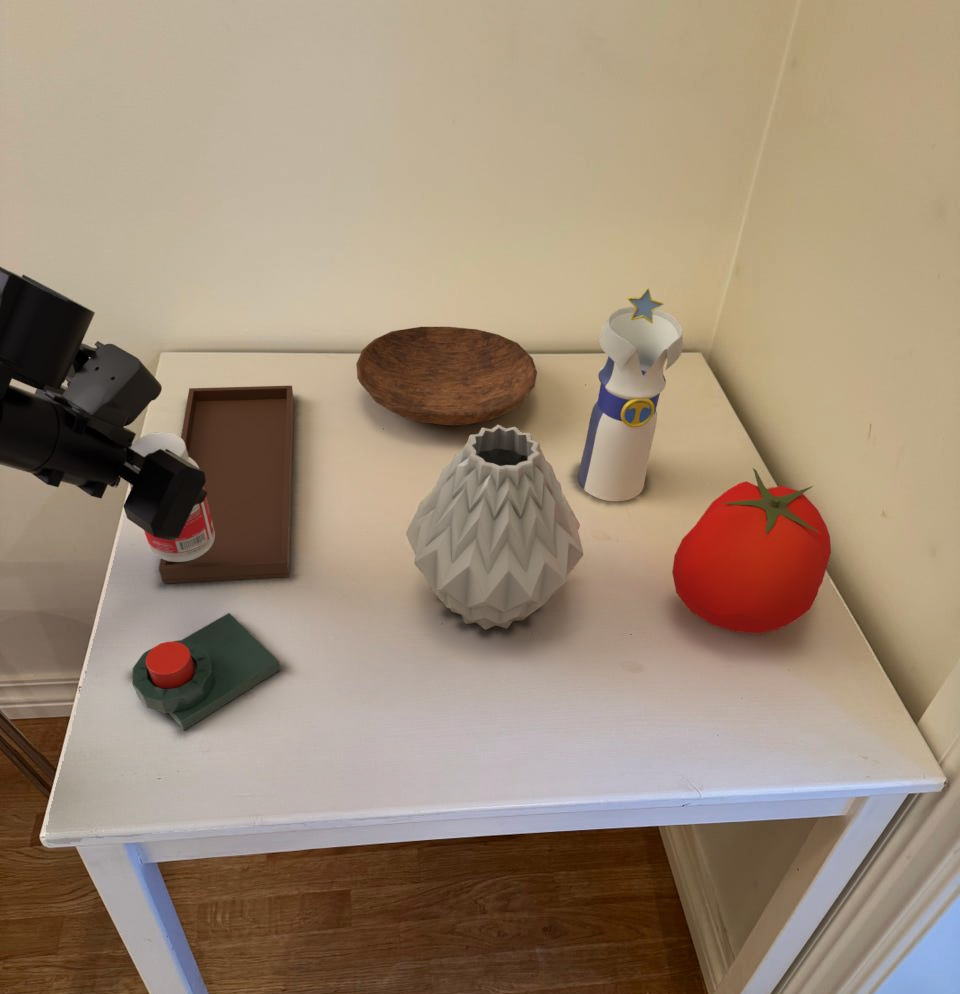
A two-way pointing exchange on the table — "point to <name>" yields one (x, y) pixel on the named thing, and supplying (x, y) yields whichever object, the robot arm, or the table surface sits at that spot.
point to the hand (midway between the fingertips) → (180, 481)
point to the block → (209, 672)
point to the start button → (170, 665)
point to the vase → (496, 530)
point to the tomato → (753, 559)
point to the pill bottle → (199, 523)
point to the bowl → (446, 374)
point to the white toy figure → (628, 398)
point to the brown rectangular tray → (241, 481)
